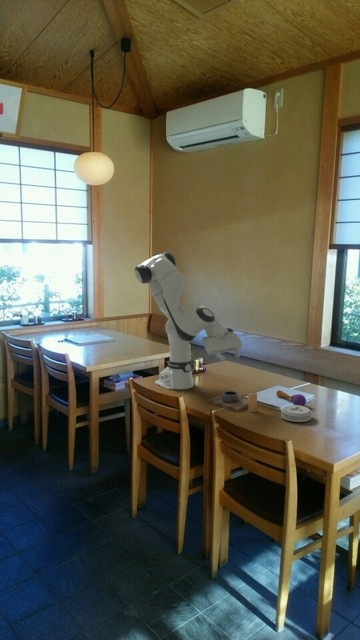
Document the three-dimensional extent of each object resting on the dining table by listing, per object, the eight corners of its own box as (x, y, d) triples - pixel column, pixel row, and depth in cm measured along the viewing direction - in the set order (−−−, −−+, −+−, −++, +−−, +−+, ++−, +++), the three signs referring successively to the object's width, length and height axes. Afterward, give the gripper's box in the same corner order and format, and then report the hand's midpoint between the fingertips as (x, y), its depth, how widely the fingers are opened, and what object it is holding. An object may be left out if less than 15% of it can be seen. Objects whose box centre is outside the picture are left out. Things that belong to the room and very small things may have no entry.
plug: (246, 411, 209) (246, 393, 208) (251, 408, 212) (251, 392, 211) (253, 413, 206) (253, 395, 205) (258, 411, 209) (259, 393, 208)
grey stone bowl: (219, 400, 220) (219, 393, 219) (229, 396, 225) (229, 389, 224) (231, 404, 214) (231, 396, 214) (241, 400, 219) (241, 393, 219)
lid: (275, 418, 201) (275, 406, 200) (293, 411, 208) (294, 401, 207) (298, 426, 191) (298, 414, 190) (317, 419, 198) (317, 408, 198)
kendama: (285, 387, 231) (309, 396, 212) (283, 399, 231) (307, 409, 212) (274, 387, 229) (298, 395, 210) (273, 398, 229) (296, 408, 210)
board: (208, 402, 221) (208, 399, 221) (227, 396, 230) (227, 393, 230) (237, 412, 208) (237, 408, 208) (256, 404, 217) (256, 401, 217)
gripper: (203, 333, 213) (217, 357, 206) (235, 328, 225) (250, 351, 218) (197, 341, 217) (211, 365, 211) (229, 336, 229) (243, 359, 223)
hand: (231, 358), depth 215 cm, fingers open, 8 cm apart
